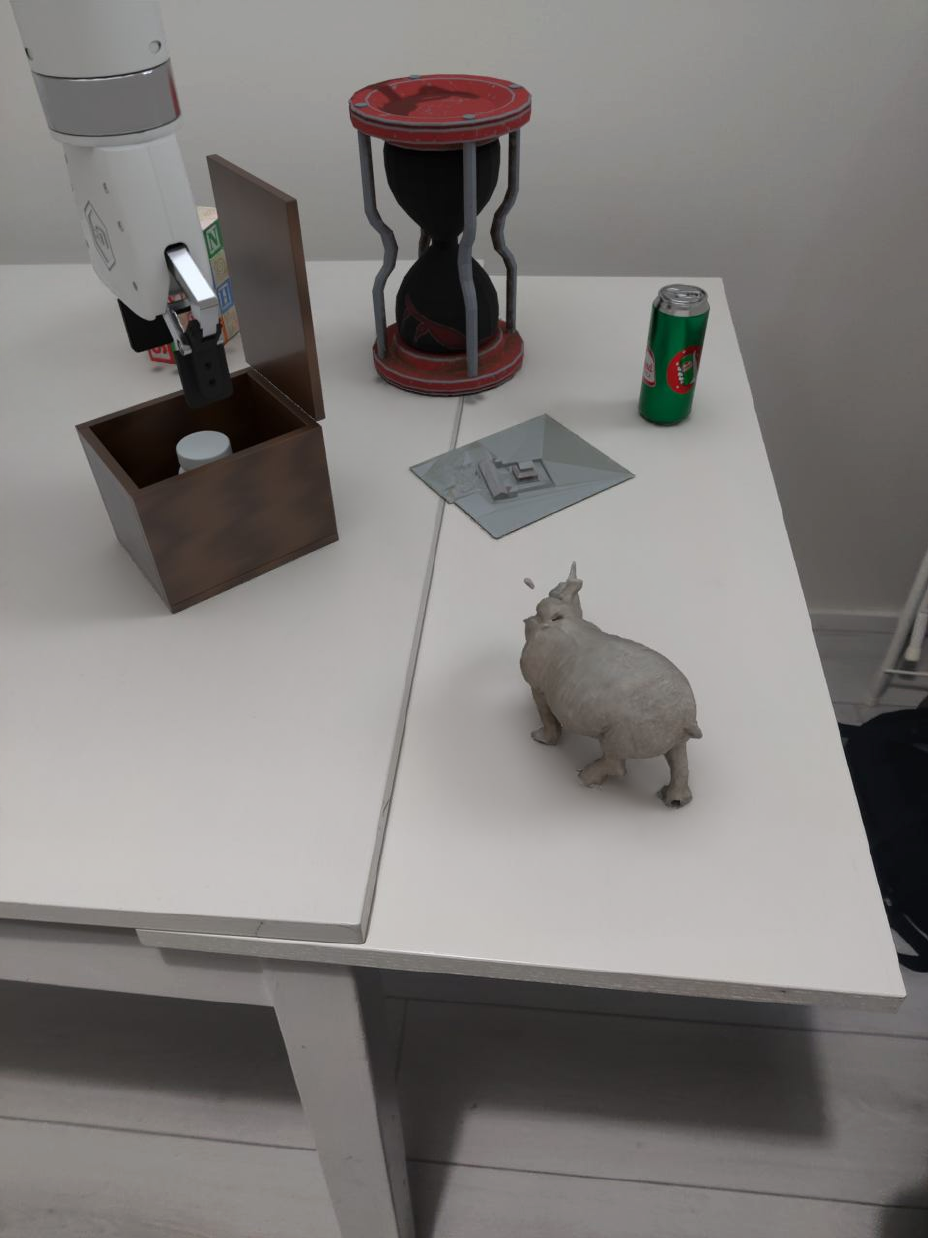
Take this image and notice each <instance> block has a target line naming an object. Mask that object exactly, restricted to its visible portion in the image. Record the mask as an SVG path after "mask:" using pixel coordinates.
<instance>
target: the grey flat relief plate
mask: <svg viewBox="0 0 928 1238" xmlns="http://www.w3.org/2000/svg"><path fill="white" fill-rule="evenodd" d="M408 469H410V470H411V471H412V472H413V473H415V474H416V475H417V476H418V477H419V478H420V479H421V480H423V482H424V483H425V484H427V485H428V486H429V487H430V488H432V489H433V490H434V491H435V492H436V493H437V494H438V495H439V496H440V497H442V498H444V499H445V500H446V501H447V503H448V504H452V503H455V504H456V506H458V507H459V508H460V509H462V510H463V511H464V512H465V513H466V514H467V515H468V516H470V517H471V518H472V519H473V520H474V521H475V522H476V523H477V524H479V525H480V526H481V527H482V528H483V529H484V530H485V531H487V532H488V533H489V534H490V535H491V536H492V537H494V538H495V539H498V538H501V537H504V536H505V535H507V534H509V533H511V532H513V531H516V530H518V529H521V528H523V527H525V526H527V525H529V524H532V523H535V522H536V521H538V520H540V519H542V518H544V517H547V516H549V515H551V514H553V513H556V512H558V511H560V510H562V509H564V508H565V509H566V508H567V507H569V506H572V505H573V504H575V503H578V502H580V501H583V500H584V499H586V498H589V497H591V496H593V495H595V494H597V493H599V492H602V491H605V490H606V489H608V488H610V487H613V486H615V485H617V484H620V483H622V482H624V481H627V480H628V479H630V478H633V477H635V476H636V474H635V473H633V472H631V471H630V470H629V469H627V468H626V467H624V466H623V465H621V464H620V463H619V462H617V461H616V460H614V459H612V458H611V457H610V456H608V455H607V454H606V453H604V452H603V451H601V450H600V449H598V448H597V447H595V446H594V445H592V444H591V443H589V442H588V441H587V440H585V439H583V438H582V437H581V436H580V435H578V434H577V433H575V432H574V431H572V430H570V428H568V427H566V426H565V425H564V424H562V423H561V422H559V421H557V419H554V418H553V417H552V416H550V414H547V413H544V414H541V415H538V416H535V417H532V418H530V419H528V420H525V421H524V422H520V423H518V424H515V425H513V426H510V427H507V428H505V429H503V430H500V431H497V432H495V433H492V434H489V435H487V436H485V437H482V438H480V439H477V440H475V441H472V442H469V443H466V444H465V445H462V446H459V447H457V448H455V449H452V450H449V451H447V452H444V453H442V454H439V455H437V456H434V457H431V458H429V459H426V460H424V461H422V462H418V463H416V464H413V465H411V466H409V467H408ZM423 615H425V614H424V613H423Z"/></svg>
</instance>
